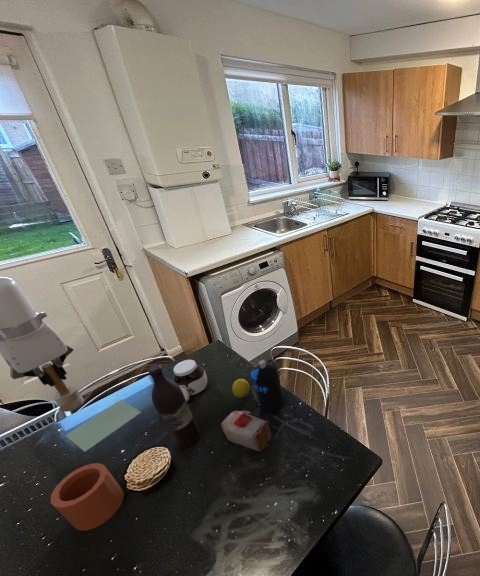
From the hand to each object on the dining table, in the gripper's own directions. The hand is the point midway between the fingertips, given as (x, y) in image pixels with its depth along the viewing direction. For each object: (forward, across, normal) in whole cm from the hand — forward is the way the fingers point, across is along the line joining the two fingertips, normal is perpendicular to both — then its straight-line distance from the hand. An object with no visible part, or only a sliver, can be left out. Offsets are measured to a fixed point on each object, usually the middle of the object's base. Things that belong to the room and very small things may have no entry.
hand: (56, 380), depth 85 cm
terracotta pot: (+26, +10, +23) cm, 36 cm away
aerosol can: (+25, -34, +40) cm, 58 cm away
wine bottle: (+26, -13, +25) cm, 38 cm away
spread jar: (+26, -25, +9) cm, 37 cm away
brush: (+10, 0, 0) cm, 10 cm away
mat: (+25, -4, -4) cm, 26 cm away
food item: (+26, -21, +42) cm, 54 cm away
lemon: (+25, -33, +27) cm, 50 cm away
